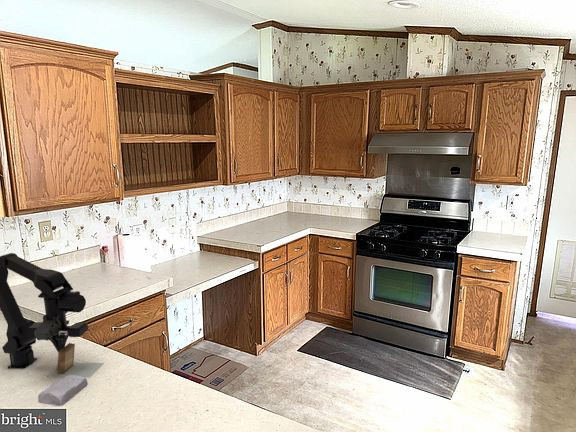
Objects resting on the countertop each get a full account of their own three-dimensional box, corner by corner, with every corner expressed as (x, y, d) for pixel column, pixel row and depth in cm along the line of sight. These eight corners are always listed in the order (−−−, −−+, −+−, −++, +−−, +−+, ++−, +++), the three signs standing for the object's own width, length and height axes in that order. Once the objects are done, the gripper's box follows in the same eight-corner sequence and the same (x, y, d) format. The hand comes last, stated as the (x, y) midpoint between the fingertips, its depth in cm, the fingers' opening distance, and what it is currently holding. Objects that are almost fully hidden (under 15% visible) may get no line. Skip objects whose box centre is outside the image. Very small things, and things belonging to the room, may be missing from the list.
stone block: (36, 410, 122) (63, 407, 119) (32, 395, 121) (59, 392, 119) (65, 388, 133) (91, 385, 131) (61, 374, 133) (87, 371, 130)
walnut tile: (57, 372, 137) (58, 351, 135) (67, 363, 143) (69, 342, 141) (62, 374, 137) (64, 352, 135) (73, 364, 143) (75, 344, 141)
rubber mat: (47, 377, 136) (47, 376, 136) (63, 362, 144) (63, 362, 144) (90, 378, 134) (89, 377, 134) (104, 363, 143) (104, 363, 143)
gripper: (11, 319, 129) (17, 364, 132) (66, 320, 127) (72, 365, 130) (35, 306, 140) (41, 347, 143) (86, 306, 138) (91, 348, 141)
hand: (60, 352), depth 139 cm, fingers closed
